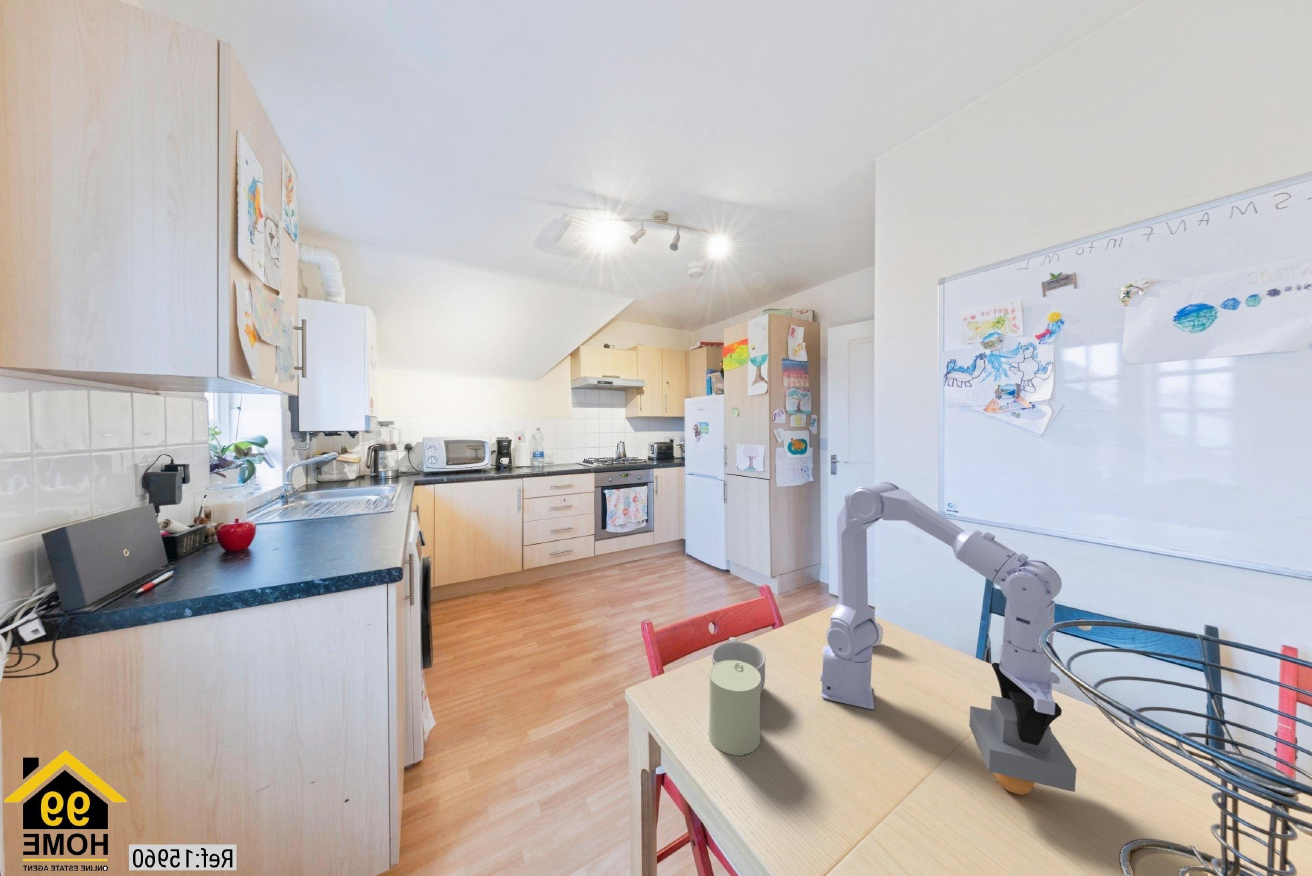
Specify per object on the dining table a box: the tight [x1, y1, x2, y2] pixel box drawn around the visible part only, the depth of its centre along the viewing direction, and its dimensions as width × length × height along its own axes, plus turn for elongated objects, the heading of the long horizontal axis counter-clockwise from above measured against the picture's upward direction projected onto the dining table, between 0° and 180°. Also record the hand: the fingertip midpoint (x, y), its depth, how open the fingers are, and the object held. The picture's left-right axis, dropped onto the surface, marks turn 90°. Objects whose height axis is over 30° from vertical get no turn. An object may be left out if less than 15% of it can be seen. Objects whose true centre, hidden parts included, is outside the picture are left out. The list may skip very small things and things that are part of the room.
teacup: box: [711, 636, 766, 693], centre depth 94 cm, size 14×11×8 cm
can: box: [707, 660, 761, 756], centre depth 80 cm, size 9×9×12 cm
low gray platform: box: [968, 695, 1077, 793], centre depth 69 cm, size 10×10×7 cm
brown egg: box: [993, 773, 1035, 795], centre depth 69 cm, size 5×5×5 cm
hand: (1020, 727), depth 68 cm, fingers closed on low gray platform, 6 cm apart
